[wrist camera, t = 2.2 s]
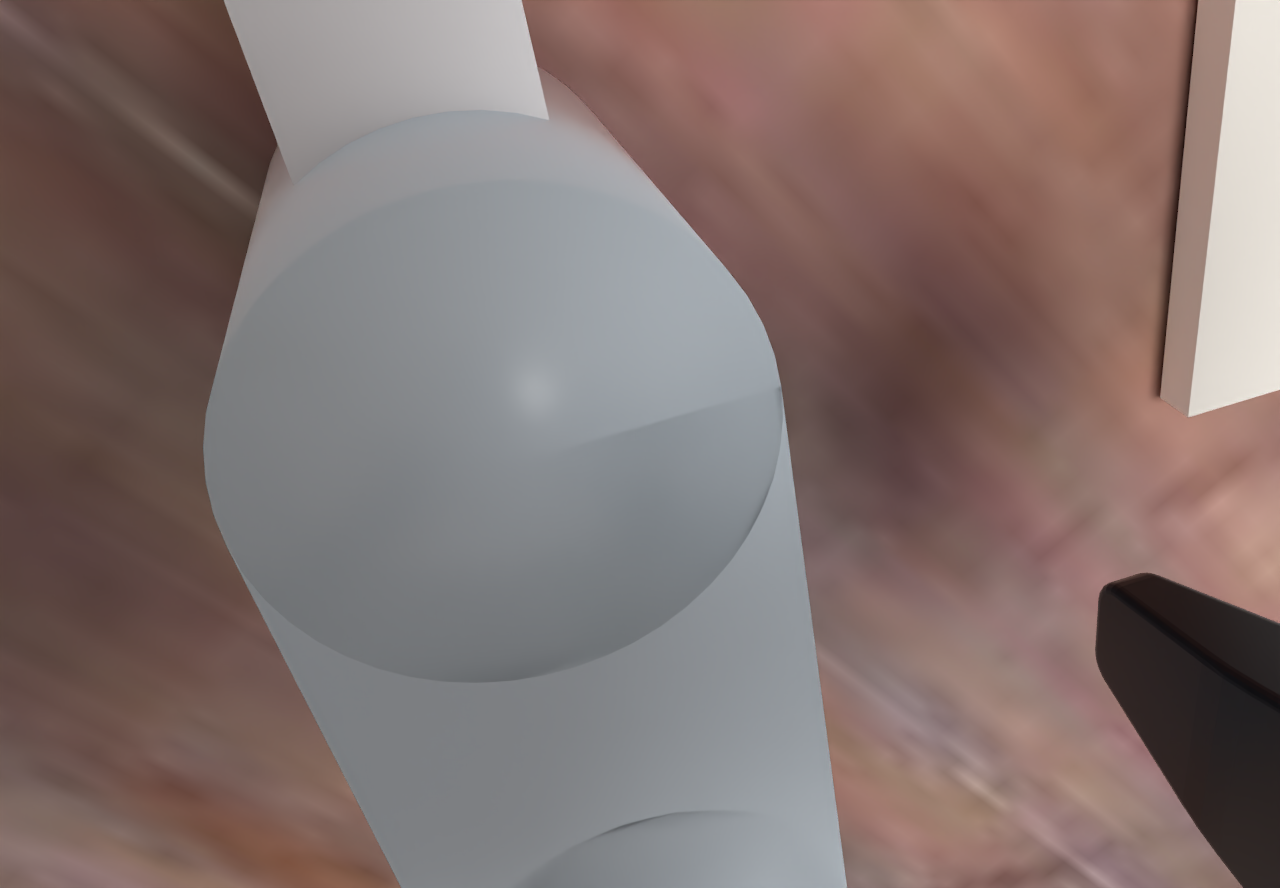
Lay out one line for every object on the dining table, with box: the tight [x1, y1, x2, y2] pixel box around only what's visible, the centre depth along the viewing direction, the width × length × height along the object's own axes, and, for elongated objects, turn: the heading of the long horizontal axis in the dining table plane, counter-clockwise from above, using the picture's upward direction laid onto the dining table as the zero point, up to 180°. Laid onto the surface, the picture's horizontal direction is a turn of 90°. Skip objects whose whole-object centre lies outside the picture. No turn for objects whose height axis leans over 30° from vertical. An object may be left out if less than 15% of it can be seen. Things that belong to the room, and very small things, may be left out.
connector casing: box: [203, 0, 847, 888], centre depth 10 cm, size 13×4×5 cm, turn 11°
